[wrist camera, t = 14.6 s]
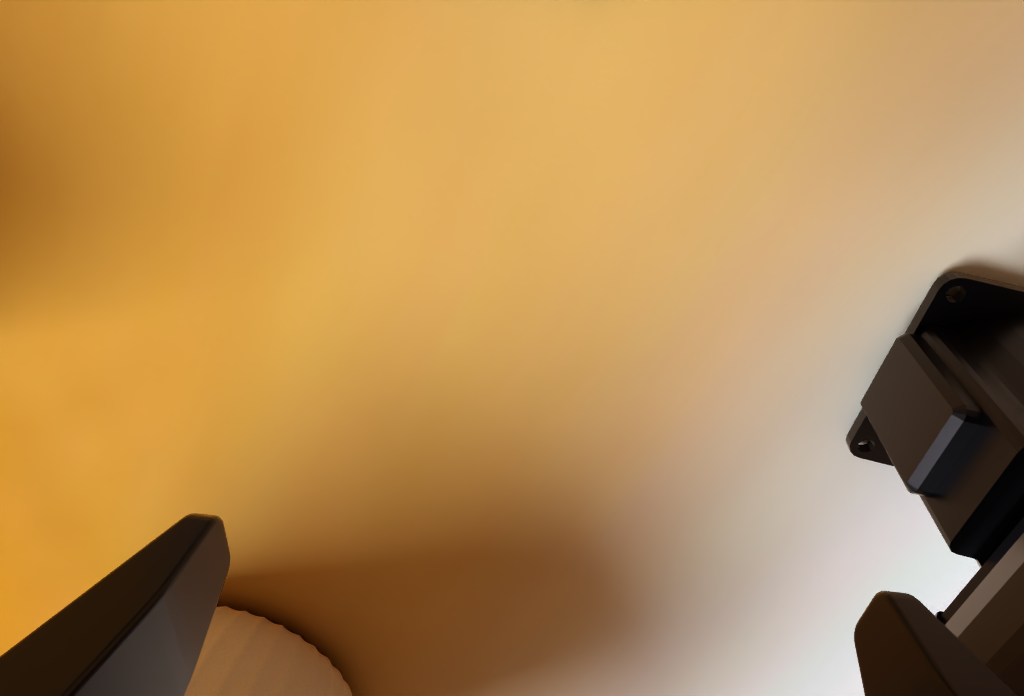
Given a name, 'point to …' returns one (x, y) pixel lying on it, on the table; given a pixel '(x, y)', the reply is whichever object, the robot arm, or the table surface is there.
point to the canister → (260, 661)
